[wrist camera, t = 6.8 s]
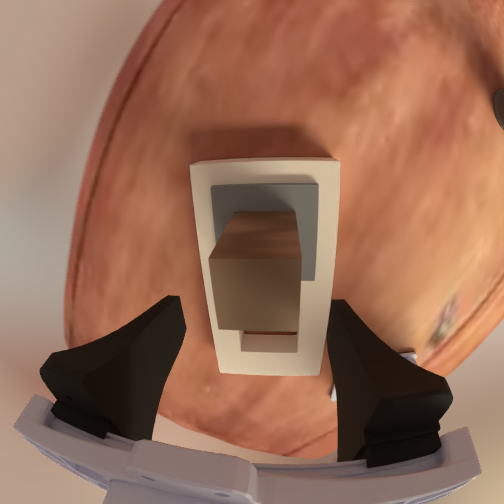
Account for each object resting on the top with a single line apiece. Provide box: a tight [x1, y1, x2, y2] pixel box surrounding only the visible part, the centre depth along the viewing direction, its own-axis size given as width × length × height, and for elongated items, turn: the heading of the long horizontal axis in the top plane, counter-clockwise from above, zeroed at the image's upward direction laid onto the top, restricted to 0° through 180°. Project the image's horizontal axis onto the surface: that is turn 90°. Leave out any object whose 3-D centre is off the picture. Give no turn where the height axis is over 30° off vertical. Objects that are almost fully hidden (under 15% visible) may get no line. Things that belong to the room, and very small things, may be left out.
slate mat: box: [210, 183, 319, 281], centre depth 19 cm, size 7×7×1 cm
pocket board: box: [190, 157, 340, 376], centre depth 22 cm, size 10×20×2 cm, turn 3°
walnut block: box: [208, 211, 302, 332], centre depth 16 cm, size 4×4×7 cm
